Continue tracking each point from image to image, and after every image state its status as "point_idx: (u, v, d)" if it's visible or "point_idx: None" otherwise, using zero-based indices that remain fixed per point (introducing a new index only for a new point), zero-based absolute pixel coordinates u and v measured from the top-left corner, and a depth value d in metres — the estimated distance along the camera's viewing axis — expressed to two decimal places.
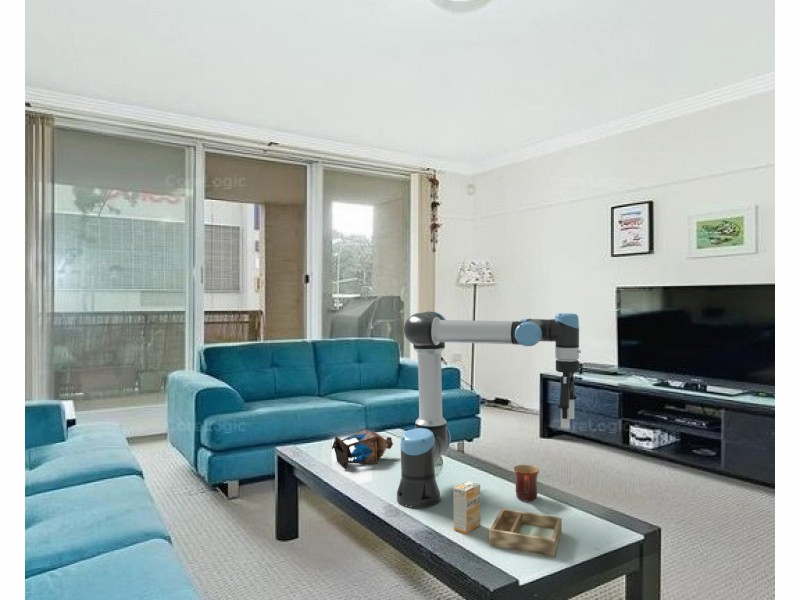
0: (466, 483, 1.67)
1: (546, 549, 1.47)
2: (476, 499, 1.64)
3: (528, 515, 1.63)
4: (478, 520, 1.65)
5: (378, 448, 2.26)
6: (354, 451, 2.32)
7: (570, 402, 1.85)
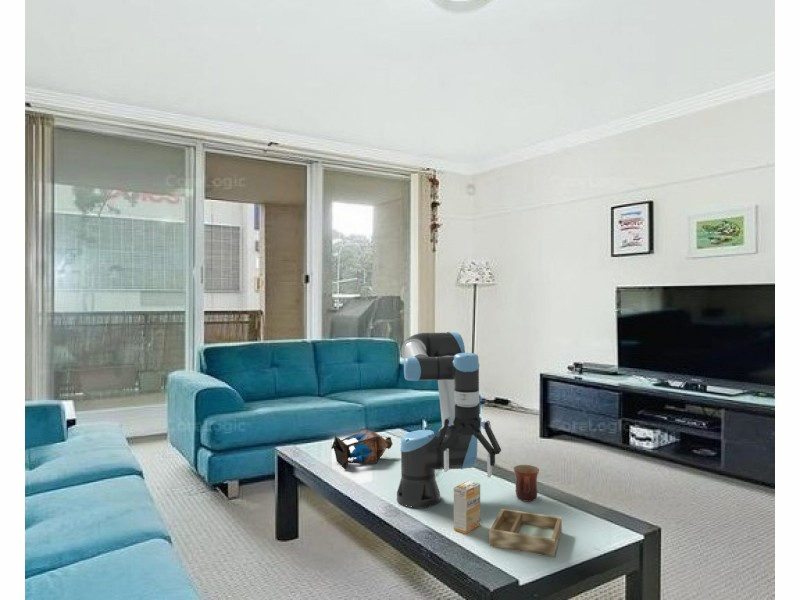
0: (466, 483, 1.67)
1: (546, 549, 1.47)
2: (476, 499, 1.64)
3: (528, 515, 1.63)
4: (478, 520, 1.65)
5: (378, 448, 2.26)
6: (353, 451, 2.32)
7: None
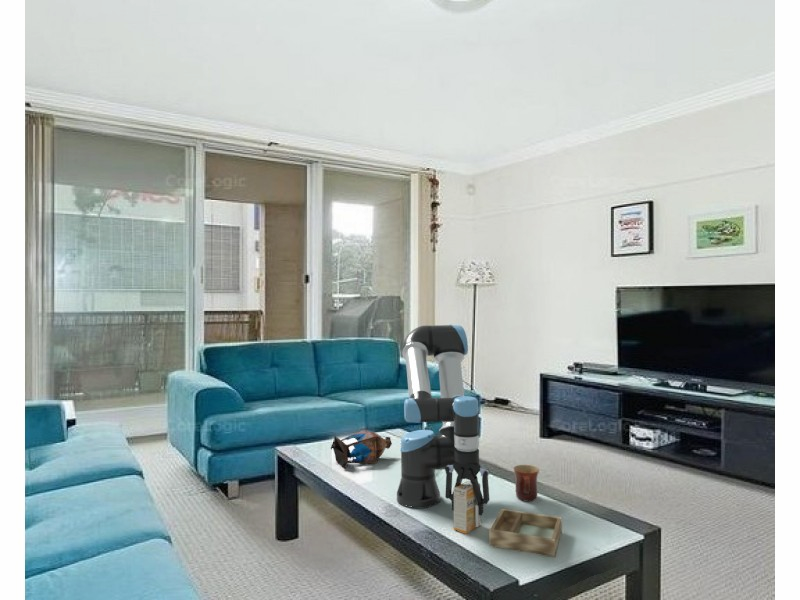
0: (466, 483, 1.67)
1: (546, 549, 1.47)
2: (476, 499, 1.64)
3: (528, 515, 1.63)
4: None
5: (377, 448, 2.27)
6: (353, 451, 2.32)
7: None
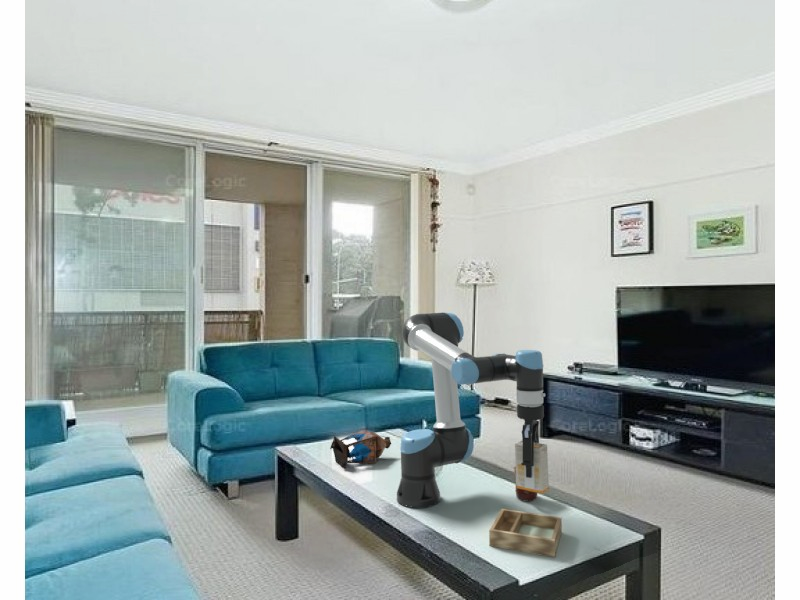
0: None
1: (546, 549, 1.47)
2: None
3: (528, 515, 1.63)
4: None
5: (377, 448, 2.27)
6: (352, 451, 2.32)
7: None
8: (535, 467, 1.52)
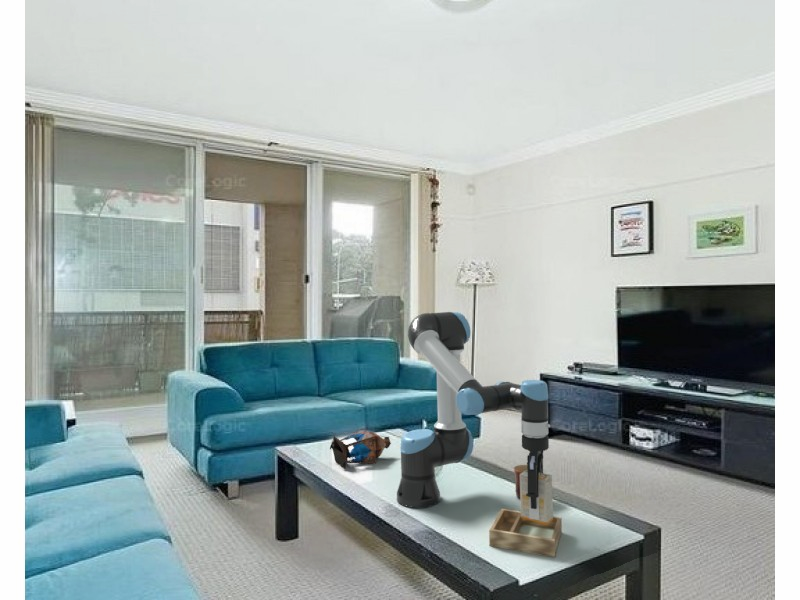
0: None
1: (546, 549, 1.47)
2: None
3: None
4: None
5: (376, 447, 2.27)
6: (352, 451, 2.32)
7: None
8: (540, 498, 1.52)
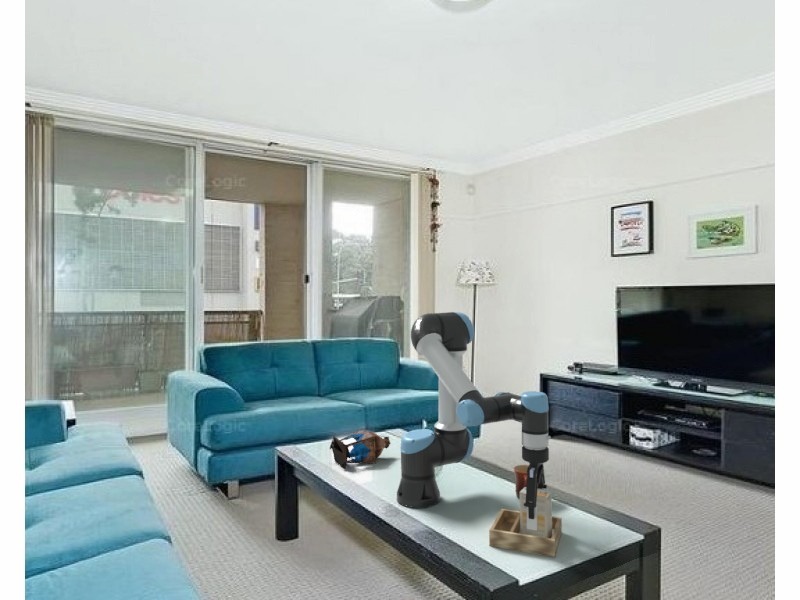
0: None
1: (546, 549, 1.47)
2: None
3: None
4: None
5: (376, 447, 2.27)
6: (351, 451, 2.32)
7: None
8: (541, 516, 1.52)
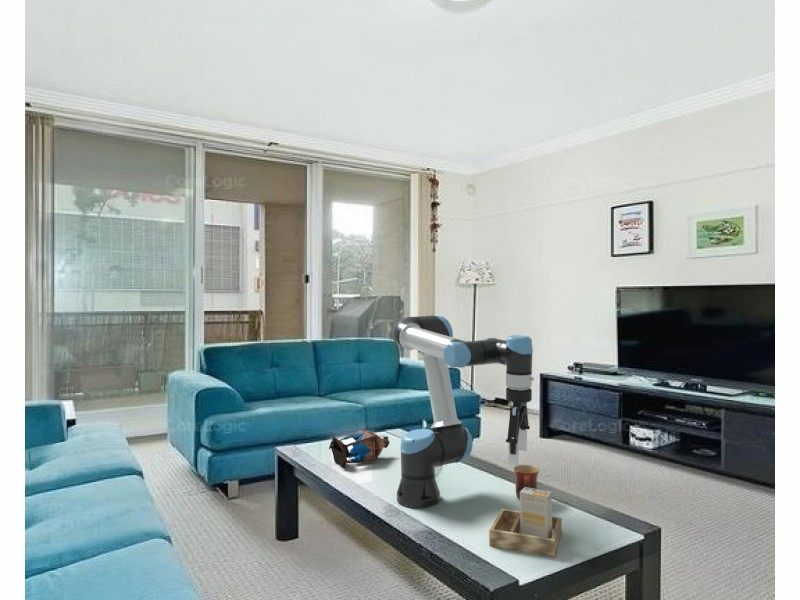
0: (529, 492, 1.55)
1: (546, 549, 1.47)
2: None
3: None
4: None
5: (376, 447, 2.27)
6: (351, 451, 2.32)
7: (522, 432, 1.68)
8: (541, 515, 1.52)
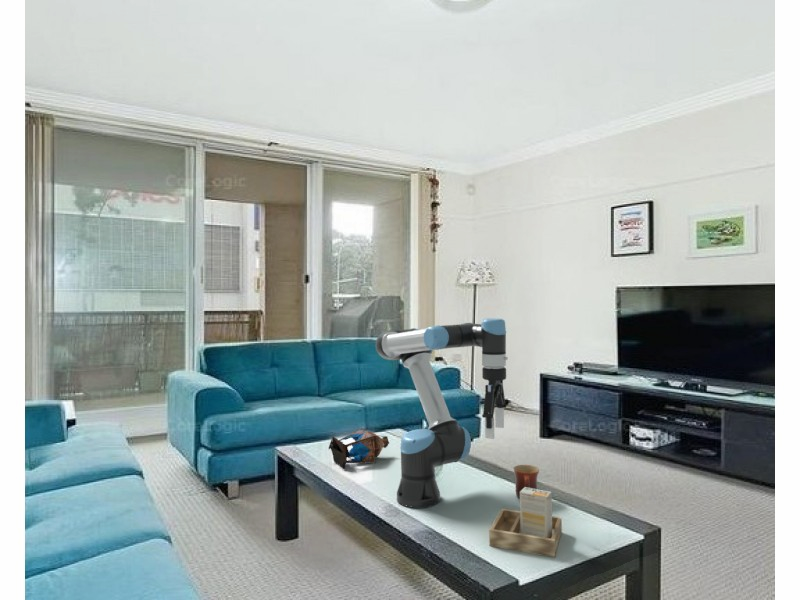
0: (529, 492, 1.55)
1: (546, 549, 1.47)
2: None
3: None
4: None
5: (375, 447, 2.28)
6: (350, 451, 2.32)
7: (499, 410, 1.79)
8: (541, 515, 1.52)
